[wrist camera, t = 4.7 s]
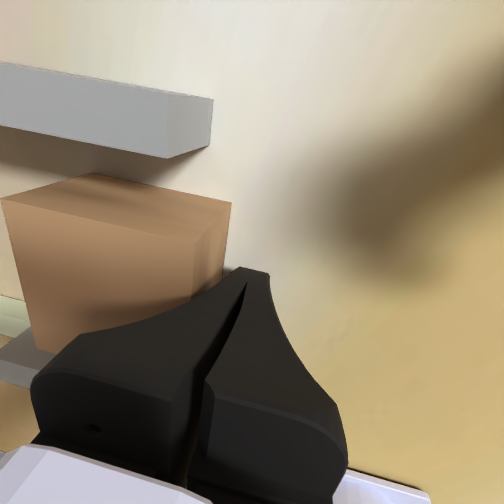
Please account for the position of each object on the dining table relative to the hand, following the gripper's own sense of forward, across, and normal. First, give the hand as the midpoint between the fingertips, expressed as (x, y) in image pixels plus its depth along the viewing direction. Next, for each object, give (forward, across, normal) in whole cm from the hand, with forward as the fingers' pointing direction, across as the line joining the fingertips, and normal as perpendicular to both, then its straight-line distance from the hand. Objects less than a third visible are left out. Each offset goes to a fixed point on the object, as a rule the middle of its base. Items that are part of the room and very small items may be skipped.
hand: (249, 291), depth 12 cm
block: (+1, +4, 0) cm, 5 cm away
